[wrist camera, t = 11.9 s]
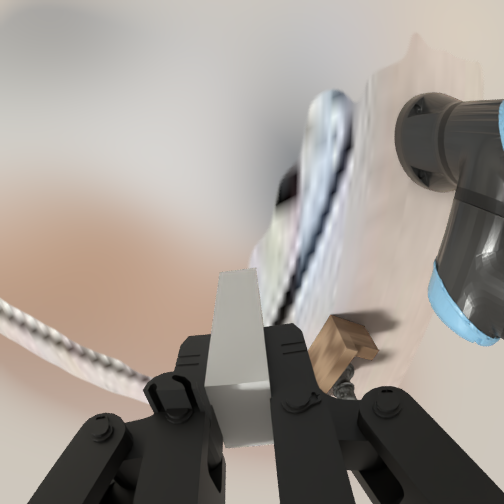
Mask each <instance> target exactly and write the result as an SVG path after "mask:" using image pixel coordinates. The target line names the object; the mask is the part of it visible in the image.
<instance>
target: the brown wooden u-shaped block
mask: <svg viewBox="0 0 504 504" xmlns="http://www.w3.org/2000/svg"><path fill="white" fill-rule="evenodd" d="M378 351H379V350H378V348H377V346H376V345H375V343H374V341H373V340H372V338H371V336H370V335H369V333H368V331H367V330H366V328H365V326H363V325H360V324H357V323H354V322H351V321H348V320H345V319H342V318H339V317H336V316H333V315H330V316H329V318H328V320H327V321H326V323H325V324H324V326H323V328H322V329H321V331H320V333H319V334H318V336H317V337H316V339H315V340H314V342H313V344H312V345H311V347H310V348H309V350H308V354H309V357H310V360H311V364H312V367H313V371H314V374H315V377H316V381H317V384H318V386H319V388H320V389H321V390H322V391H323V392H324V393H326V394H327V392H328V391H329V390H330V389H331V387H332V386H333V385H334V383H335V382H336V381H337V380H338V378H339V377H340V376H341V374H342V373H343V372H344V370H345V369H346V367H347V366H348V365H349V363H350V362H351V361H352V359H353V358H354V356H357V357H361V358H364V359H368V360H373V358H374V357H375V356H376V354H377V353H378Z"/></svg>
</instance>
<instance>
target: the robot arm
mask: <svg viewBox="0 0 504 504" xmlns="http://www.w3.org/2000/svg"><path fill="white" fill-rule="evenodd" d="M395 146H396V151H397V155H398V158H399V161H400V163H401V165H402V167H403V169H404V171H405V172H406V174H407V175H408V176H409V177H410V178H411V179H412V180H413V181H414V182H415V183H416V184H418V185H419V186H421V187H423V188H426V189H429V190H432V191H436V192H450V191H454V190H456V192H455V197H454V200H453V204H452V208H451V212H450V216H449V219H448V223H447V227H446V230H445V234H444V237H443V240H442V243H441V246H440V249H439V252H438V255H437V257H436V259H435V261H434V269H433V273H432V276H431V279H430V282H429V286H428V298H429V301H430V303H431V306H432V308H433V310H434V312H435V313H436V314H437V316H438V317H439V318H440V319H441V321H442V322H443V323H444V324H445V325H447V326H448V327H449V328H450V329H451V330H453V331H454V332H455V333H456V334H458V335H459V336H461V337H462V338H464V339H466V340H467V341H470V342H472V343H473V342H476V343H477V344H478V345H481V346H491V345H493V344H495V343H496V342H497V341H499V339H500V338H502V339H504V99H500V100H480V101H467V102H463V101H460V100H458V99H456V98H453V97H451V96H448V95H446V94H442V93H426V94H420V95H417V96H415V97H413V98H412V99H410V100H409V101H408V102H407V103H406V104H405V105H404V107H403V108H402V110H401V112H400V114H399V116H398V119H397V122H396V127H395ZM143 392H144V394H145V396H146V398H147V400H148V402H149V404H150V406H151V408H152V410H153V412H154V415H152V416H150V417H147V418H144V419H141V420H136V421H132V422H127V423H124V422H123V420H122V419H121V417H119V416H117V415H115V414H112V413H111V414H110V413H102V414H97V415H95V416H93V417H92V418H89V419H88V420H87V421H86V422H85V423H84V424H83V426H82V427H81V428H80V430H79V431H78V432H77V434H76V435H75V436H74V438H73V439H72V441H71V442H70V444H69V445H68V446H67V448H66V449H65V450H64V452H63V453H62V455H61V456H60V458H59V459H58V460H57V462H56V463H55V464H54V466H53V467H52V469H51V470H50V471H49V473H48V474H47V476H46V477H45V479H44V480H43V482H42V483H41V484H40V486H39V487H38V489H37V490H36V492H35V493H34V495H33V496H32V498H31V499H30V501H29V502H28V503H27V504H225V479H226V463H225V459H224V456H223V453H222V449H223V442H224V445H225V447H226V448H235V447H249V446H260V445H269V444H274V449H275V459H276V468H277V478H278V488H279V497H280V504H356V503H355V500H354V496H353V493H352V488H351V485H350V481H349V477H348V474H347V470H351V471H352V473H353V474H354V476H355V477H356V479H357V480H358V482H359V483H360V485H361V486H362V488H363V489H364V491H365V493H366V494H367V496H368V497H369V499H370V500H371V502H372V503H373V504H504V493H503V491H502V490H501V489H500V488H499V487H498V486H497V485H496V484H495V483H494V482H493V481H492V480H491V479H490V478H489V477H488V475H487V474H486V473H485V472H483V470H482V469H481V468H480V467H479V466H478V465H477V464H476V463H475V462H474V461H473V460H472V459H471V458H470V457H469V456H468V455H467V453H465V452H464V450H463V449H461V447H460V446H459V445H458V444H457V443H456V442H455V441H454V440H453V439H452V438H451V437H450V436H449V435H448V434H447V433H446V432H445V431H444V430H443V429H442V428H441V427H440V426H439V425H438V423H437V422H435V420H433V418H432V417H431V416H430V415H429V414H428V413H427V412H426V411H425V410H424V409H423V408H422V407H421V406H420V405H419V404H418V403H417V402H416V401H415V400H414V399H413V398H412V397H411V396H410V395H409V394H408V393H406V392H405V391H403V390H402V389H400V388H396V387H393V386H381V387H378V388H374V389H372V390H370V391H369V392H367V393H366V394H365V395H364V396H363V398H362V399H361V400H345V399H337V398H334V397H331V396H329V395H327V394H326V393H324V392H323V391H322V390H321V389H320V388H319V386H318V384H317V381H316V377H315V374H314V371H313V367H312V364H311V360H310V357H309V354H308V351H307V347H306V343H305V340H304V337H303V333H302V331H301V330H300V329H299V328H298V327H297V326H296V325H294V324H293V323H290V324H283V325H276V326H269V327H264V325H263V317H262V310H261V302H260V295H259V287H258V279H257V272H256V268H250V269H243V270H235V271H227V272H221V273H220V275H219V282H218V289H217V295H216V302H215V309H214V317H213V324H212V331H211V334H208V335H196V336H189V337H188V338H187V339H186V340H185V341H184V342H183V344H182V345H181V346H180V350H179V354H178V358H177V362H176V367H175V370H174V371H173V372H167V373H163V374H161V375H159V376H156V377H154V378H153V379H152V380H151V381H149V382H148V383H147V384H146V386H145V388H144V389H143Z"/></svg>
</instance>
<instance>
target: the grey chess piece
mask: <svg viewBox="0 0 504 504" xmlns="http://www.w3.org/2000/svg"><path fill="white" fill-rule="evenodd" d="M353 375H354V367H353V366H352V365H351V364H350V363H349V365H348V366H347V367H346V369H345V370H344V372H343V373H342V374H341V376H340V377H339V378H338V380H337V381H336V382H335V383H334V385H333V386H332V387H333V389H334V390H333V394H334V396H335V397H337V399H345V400H357V398H356V396H355V394H354V385H353V384H352V383H351V382H350V379H351V378H352V377H353Z"/></svg>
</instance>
